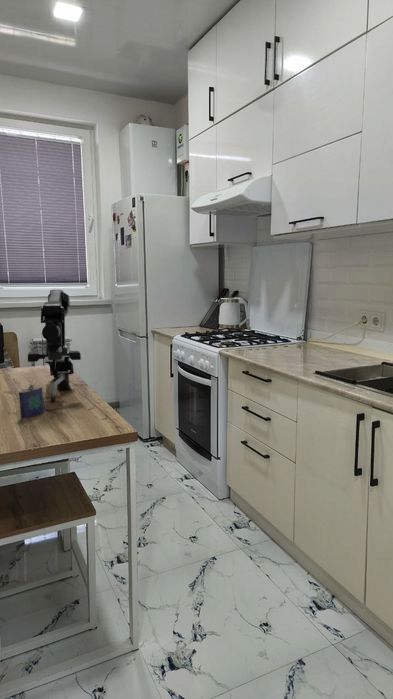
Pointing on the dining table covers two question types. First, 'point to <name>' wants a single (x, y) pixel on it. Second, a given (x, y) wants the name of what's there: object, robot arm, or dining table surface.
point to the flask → (31, 402)
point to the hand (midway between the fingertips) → (55, 378)
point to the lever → (55, 383)
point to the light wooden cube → (49, 390)
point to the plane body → (52, 405)
